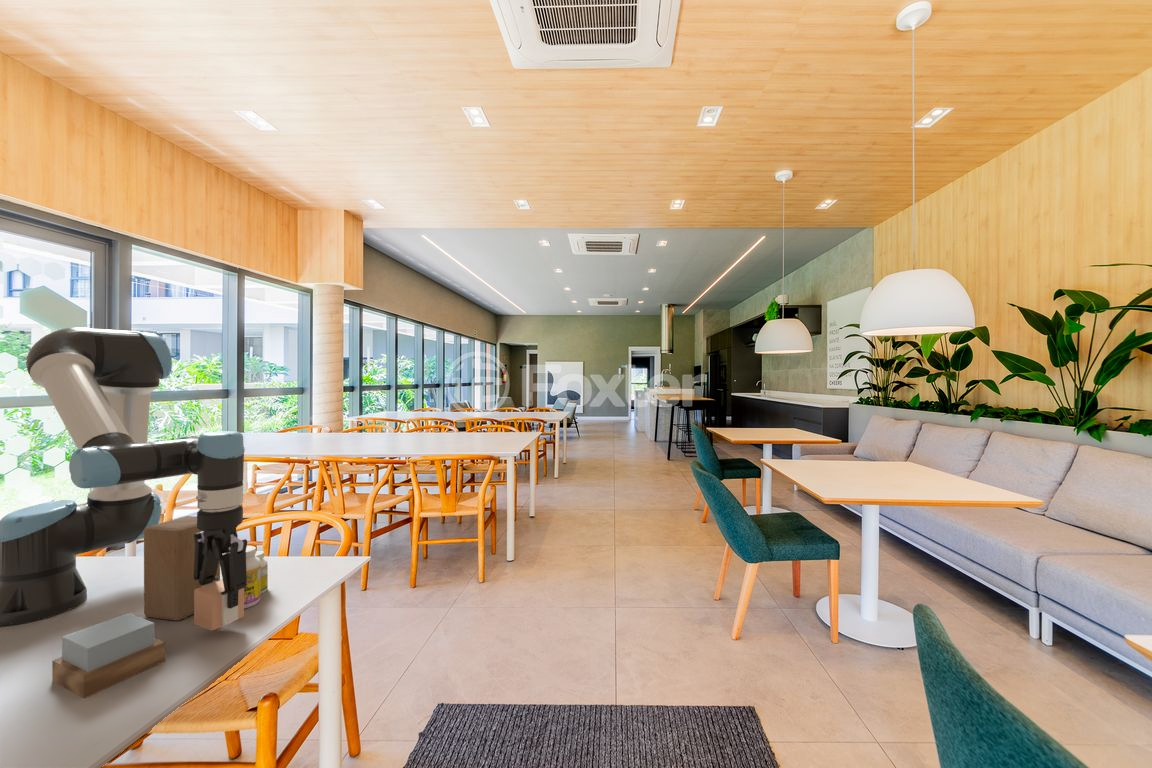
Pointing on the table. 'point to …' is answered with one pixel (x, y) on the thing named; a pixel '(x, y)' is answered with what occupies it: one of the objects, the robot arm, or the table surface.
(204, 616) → the stack block
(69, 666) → the tower base
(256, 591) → the supplement bottle
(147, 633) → the block
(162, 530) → the block
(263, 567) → the supplement bottle
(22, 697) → the table surface
